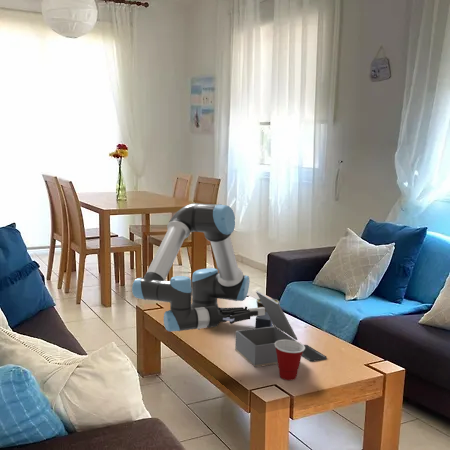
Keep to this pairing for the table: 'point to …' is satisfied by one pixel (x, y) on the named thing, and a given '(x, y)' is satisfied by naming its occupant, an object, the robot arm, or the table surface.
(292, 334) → the lid
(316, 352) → the phone
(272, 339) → the grey open rectangular box
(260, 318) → the small box
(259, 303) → the ceramic cup
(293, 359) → the plastic cup
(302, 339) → the table surface
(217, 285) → the robot arm
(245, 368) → the table surface
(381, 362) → the table surface
